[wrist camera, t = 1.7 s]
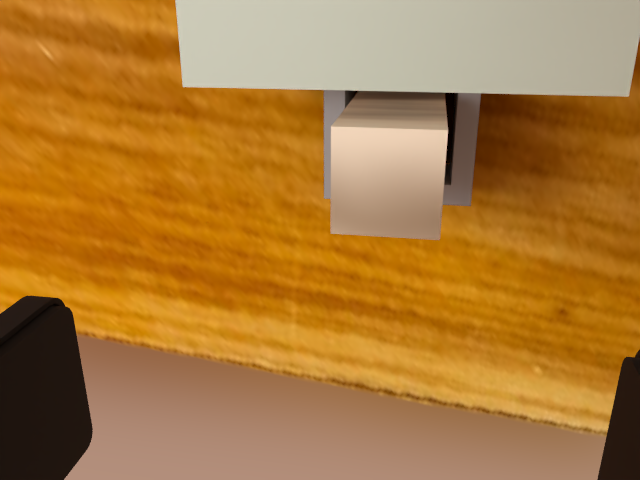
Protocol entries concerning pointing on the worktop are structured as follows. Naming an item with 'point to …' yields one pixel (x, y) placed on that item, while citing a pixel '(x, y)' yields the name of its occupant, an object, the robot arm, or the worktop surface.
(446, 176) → the toolbox
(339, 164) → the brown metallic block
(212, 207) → the worktop surface
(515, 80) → the toolbox lid
